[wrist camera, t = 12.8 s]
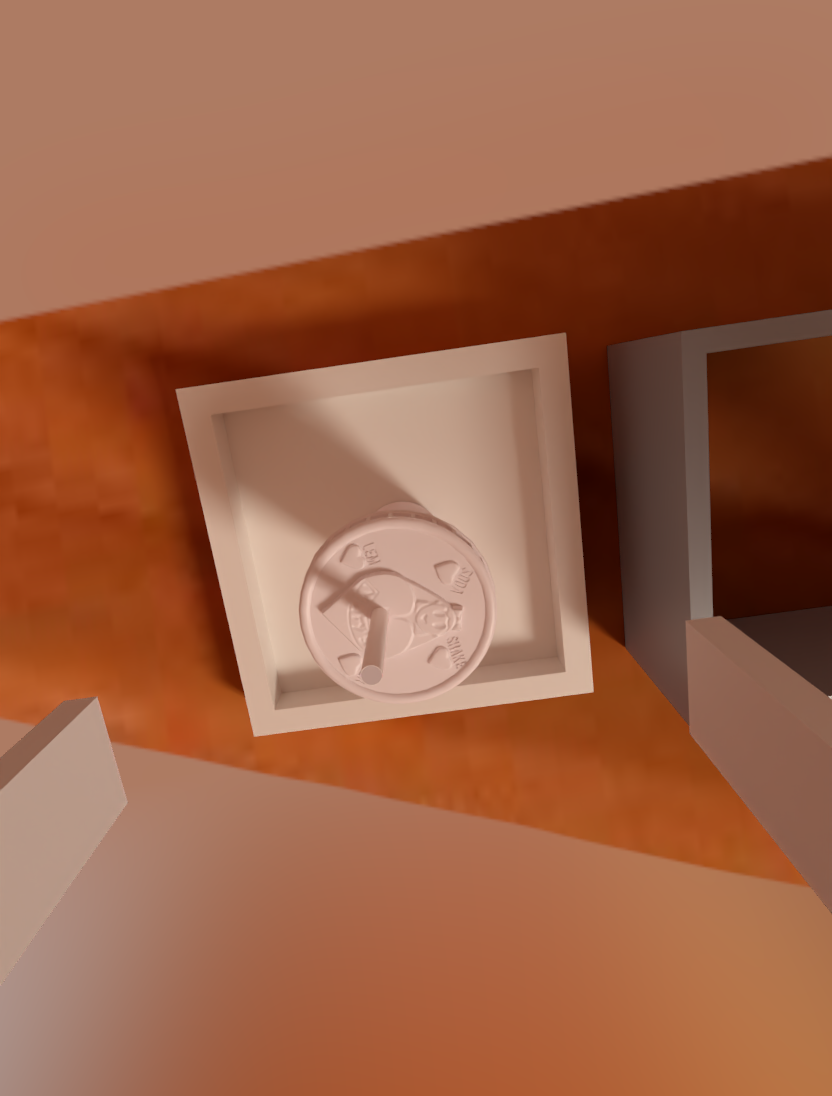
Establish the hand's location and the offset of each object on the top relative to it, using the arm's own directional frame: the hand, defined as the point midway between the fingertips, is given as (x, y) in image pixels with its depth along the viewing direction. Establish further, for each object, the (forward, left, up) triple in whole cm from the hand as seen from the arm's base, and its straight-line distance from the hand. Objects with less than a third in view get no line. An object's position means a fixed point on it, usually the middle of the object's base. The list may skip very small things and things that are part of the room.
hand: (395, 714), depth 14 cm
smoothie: (0, 0, -16) cm, 16 cm away
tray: (0, 0, -17) cm, 17 cm away
